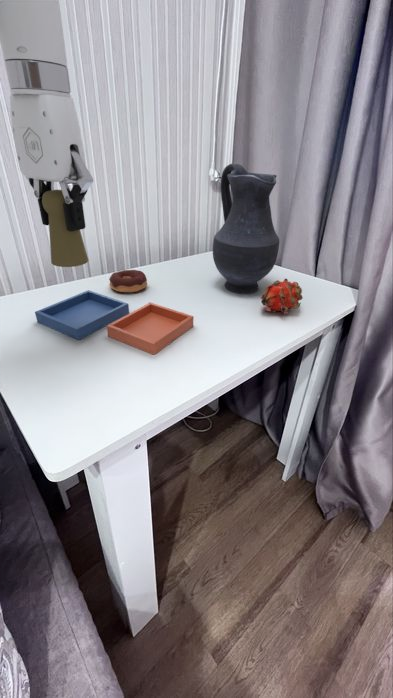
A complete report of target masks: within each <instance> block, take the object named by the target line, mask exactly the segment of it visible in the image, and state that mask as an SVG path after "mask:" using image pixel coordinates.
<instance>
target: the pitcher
mask: <svg viewBox="0 0 393 698" xmlns="http://www.w3.org/2000/svg"><path fill="white" fill-rule="evenodd" d="M276 184H277V174H267V173H256V172H248V171H247V170H246V169H245V167H244V166H243V165H241V164H240V163H239V164H238V163H235V164H234V163H230V164H227V165H226V166H225V167H224V168H223V170H222V172H221V177H220V197H221V198H220V199H221V205H222V215H223V224H222V226H221V228H220V229H219V230H218V231H217V232H216V233H215V235H214V236H213V241H212V258H213V262H214V266H215V268H216V270H217V271H218V272H219V274H220V275H221V276H222V277H223V278H224V279H225V280H226V281H225V282H224V285H223V286H224V289H225V290H226V291H228V292H231V293H234V294H240V295H247V294H254V293H255V292H257V291H259V288H260V287H259V282H260V281H261V280H262V279H264V278H265V277H266V276H268V275H269V274H270V273H271V271H272V270H273V268H274V267H275V265H276V262H277V259H278V255H279V250H280V249H279V248H280V237H279V235H278V234H277V232H276V230H275V227H274V224H273V218H272V210H271V203H270V202H271V201H270V196H271V193H272V191H273V190H274V187H275V186H276Z"/></svg>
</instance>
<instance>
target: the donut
mask: <svg viewBox="0 0 393 698" xmlns="http://www.w3.org/2000/svg"><path fill="white" fill-rule="evenodd" d="M147 286H148V279H147V276H146V274H145V273H144V271H141V270H136V269H122V270H121V271H120V270H119V271H116V272H113V273H112V274H111V275H110V276H109V287H110V288H111V289H112V290H113V291H115V292H120V293H136V292H140V291H142V290H144V289H145V288H146V287H147Z"/></svg>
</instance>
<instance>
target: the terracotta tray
mask: <svg viewBox="0 0 393 698" xmlns="http://www.w3.org/2000/svg"><path fill="white" fill-rule="evenodd" d="M194 317H195V316H194V315H190V314H187V313H185V312H181V311H179V310H174V309H172V308H169V307H166V306H162V305H159V304H157V303H154V302H148V303H146V304H145V305H143V306H141V307H139V308H137V309H135V310H133V311H131V312H129V314H127V315H125V316H123V317H121V318H119V319H118V320H116V321H114V322H112V323H110V324H108V325H106V333H107V337H108V338H111V339H114V340H115V341H119V342H121V343H124V344H126V345H128V346H131V347H133V348H136V349H138V350H140V351H142V352H145V353H148V354H150V355H153V356H155V355H157V354H158V353H159V352H160V351H162V350H163V349H164V348H166V347H167V346H169V345H170V344H171V343H172V342H174V341H175V340H177V339H178V338H179V337H181V336H182V335H184V334H185V333H186V332H187V331H189V330H190V329H192V328H193V327H194Z"/></svg>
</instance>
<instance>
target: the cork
mask: <svg viewBox="0 0 393 698" xmlns="http://www.w3.org/2000/svg"><path fill="white" fill-rule="evenodd" d="M63 203H66V201H65V199H64V196H63V193H62V190H61V189H54V190H51V191H47V192H45V193H44V194H43V196H42V204H43V207H44V209H45V211H46V212H47V213H48V216H49V225H48V231H49V246H50V247H49V248H50V263H51V265H52V266H56V267H60V268H73V267H80V266H83V265H86V264H87V263H88V262H89V257H88V254H87V251H86V250H87V249H86V246H85V243H84V239H83V236H82V232H81V230H76V231H68V230H67V227H66V221H65V215H64V209H63Z"/></svg>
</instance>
